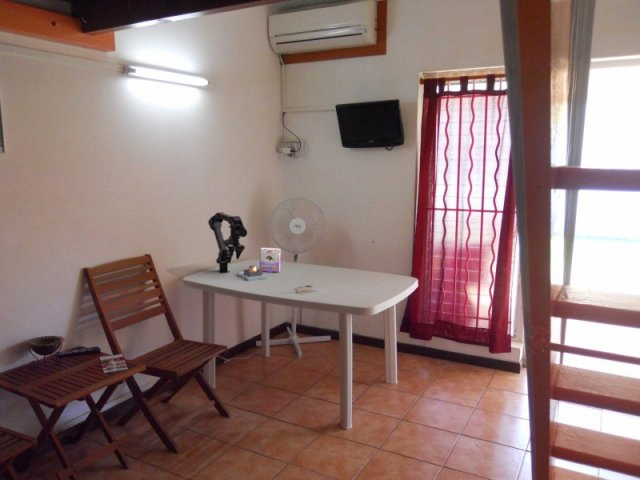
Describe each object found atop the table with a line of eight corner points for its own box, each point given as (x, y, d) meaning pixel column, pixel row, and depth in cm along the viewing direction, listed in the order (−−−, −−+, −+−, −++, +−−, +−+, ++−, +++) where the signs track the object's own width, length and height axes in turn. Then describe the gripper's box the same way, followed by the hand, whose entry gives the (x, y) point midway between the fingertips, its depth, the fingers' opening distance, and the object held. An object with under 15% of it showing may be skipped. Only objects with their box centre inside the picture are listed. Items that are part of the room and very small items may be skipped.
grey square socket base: (237, 275, 336) (237, 268, 335) (254, 273, 344) (254, 266, 343) (248, 280, 323) (248, 273, 322) (266, 278, 330) (266, 271, 329)
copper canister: (247, 277, 332) (247, 265, 331) (254, 276, 335) (254, 264, 334) (251, 278, 328) (251, 267, 327) (257, 278, 331) (258, 266, 330)
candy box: (280, 271, 354) (281, 248, 352) (278, 272, 349) (279, 249, 346) (261, 269, 356) (261, 247, 353) (259, 271, 350) (260, 248, 347)
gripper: (217, 233, 334) (217, 256, 337) (229, 237, 319) (229, 261, 321) (233, 232, 340) (232, 255, 343) (245, 236, 325) (244, 260, 328)
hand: (234, 258), depth 334 cm, fingers open, 9 cm apart
